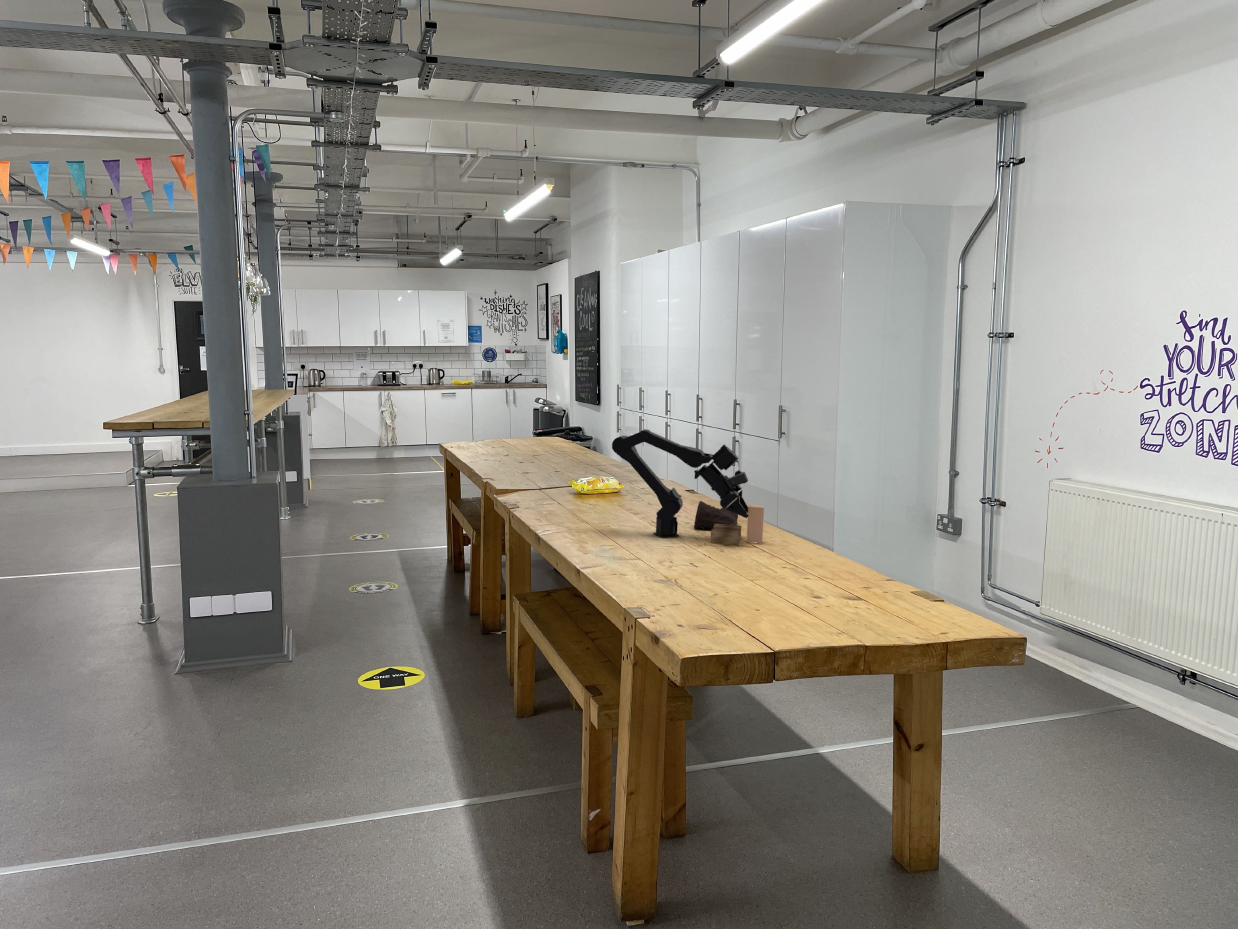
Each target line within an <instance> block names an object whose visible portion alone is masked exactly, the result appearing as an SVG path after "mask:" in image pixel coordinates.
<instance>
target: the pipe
mask: <svg viewBox="0 0 1238 929" xmlns="http://www.w3.org/2000/svg"><path fill="white" fill-rule="evenodd" d="M738 518H739V515H738V514H736V513H733V512H731V511H729V510H726V508H725V509H723V507H721V508H718V507H715V506H714V505H713V506H712V505H711V504H707V503H705V502H704V501H702V500H699V502H698V505H697V509H696V513H695V517H694V523H693V524H694V525H693V528H694V529H702V530H706V529H709V530H712V529H713V528H714V524H723V525H737V526H738V523H739V522H738Z"/></svg>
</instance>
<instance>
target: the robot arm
mask: <svg viewBox="0 0 1238 929" xmlns="http://www.w3.org/2000/svg"><path fill="white" fill-rule="evenodd" d="M642 443H646V444H648V445H650V446H653V447H655V448H657V449H660V450H661V451H664V452H666V453H668V454H670V455H673V456H675V457H676V458H677V459H679V460H681V461H682V462H683V463H684V464H685V465H687V466H688V467H690V468H692V469H695V470H694V471H693V472H694V479H695V480H697V479H698V478H699V477H701V478H702V479H703V480H704V481H705V482H706V484H708V486H709V487H710V489H711V490H712V492H715V493H716V494H717V496H718V497H719V499H720V500H719V505H720V507H721V508H723V509H725V508H726V510H729V511H731V512H733V513H736V514H738V516H741V517H743V518H745V519H748V506H749V505H748V504H747V503H746V501H745V498H744V497H743V488H742V486H741V485H742V484H743V485H744V484H746V483H748V482H749V478H748V476H747V473H746V472H745V471H743V472H742V471H741V470H740V469H738V470H736V471H735V472H734V475H732V476H730V477H729V476H728V475H724V474H723V472H721V471H723V470H724V471H727V470H729V468H731V467H732V466H733V465H734V464H735V463H736V462H737V461H738V460H739V459H740V458H739V457H738V455H737V454H736V453H735V451H733V450H731V449H730V447H729V446H727V445H726V444H723V445H722V446H720V448H719V449H718V450H717V451H716V452H715V453H714V454H712V453H707V452H705V451H703V450H702V449H699V448H696V447H692V446H687V445H682V444H679V443H678V442H676V441H673V440H671V439H668V438H666V437H664V436H662V435H660V434H657V433H654V432H653V431H651V430H649V429H647V428H645V429H643V430H641V431H639V432H636V433H634V434H631V435H628V436H627V435H620V436H617V437H616V438H614V439H613V441H612V443H611V449H612V451H613V453H615V454H616V455H617V456H619V457H620V458H621V459H622V460H624V461H626V462H627V463H629V464H630V466H631V467H632V468H633V470H635V472H636V473H637V474H638V476H640V478H641V479H642V480H643V481H644V482H645V484H646V485H647V486H648V487H649V488H650V490H652V492H653V493H654V494H655V496H656V498H657V500H658V502H659V504H660V506H661V508H659V509H658V511H656V513H655V514H656V523H655V532H653V533H652V534H653V535H655V536H658V537H660V538H673V537H674V538H675V537H680V534H678V524H679V523H678V517H677V516H676V514H678V513H679V512H680V511H681V509H682V508H683V504H684V502H683V499H682V495H681V494H679V493H678V491H677V489H676V488H675V487H672V488H671V489H670V488H669V487H667V486H666V485H665V484H664V482H662V481H661V479H660V478H659V477H658V476H657V474H656V473H655V472H654V471H653V470H652V469H651V468H650V466H649V465H648V464H647V463H646V461H644V459H643V458H642V457H641V456H640V454H639V452H638V450H637V448H636V446H637V445H640V444H642ZM711 461H712V462H711ZM708 463H709V465H706V464H708ZM701 466H702V467H701ZM699 467H700V468H699ZM697 468H699V469H697Z"/></svg>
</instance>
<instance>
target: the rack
mask: <svg viewBox="0 0 1238 929" xmlns="http://www.w3.org/2000/svg"><path fill="white" fill-rule="evenodd" d="M741 537H742V525H738V524H737V525H723V524H714V528H713V529H711V531H710V539H709V543H710V544H717V543H719V544H720V545H723V544H724V545H731V546H732V545H733V546H739V544H740V541H741ZM739 540H740V541H739Z"/></svg>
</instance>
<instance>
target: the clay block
mask: <svg viewBox="0 0 1238 929" xmlns="http://www.w3.org/2000/svg"><path fill="white" fill-rule="evenodd" d="M747 506H748V513H747V514H748V517H747V524H746V542H757V543H762V544H763V541H762V540H763V539H764V538H763V537H764V519H765V505H761V504H760V505H759V504H748V505H747Z"/></svg>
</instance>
